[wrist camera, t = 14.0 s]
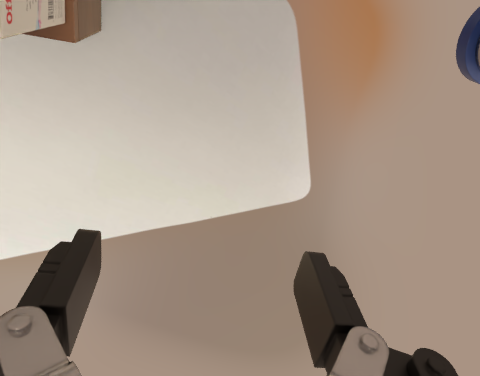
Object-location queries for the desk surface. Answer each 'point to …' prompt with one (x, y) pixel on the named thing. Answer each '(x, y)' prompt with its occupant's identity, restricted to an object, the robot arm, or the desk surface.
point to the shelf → (74, 22)
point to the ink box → (29, 15)
